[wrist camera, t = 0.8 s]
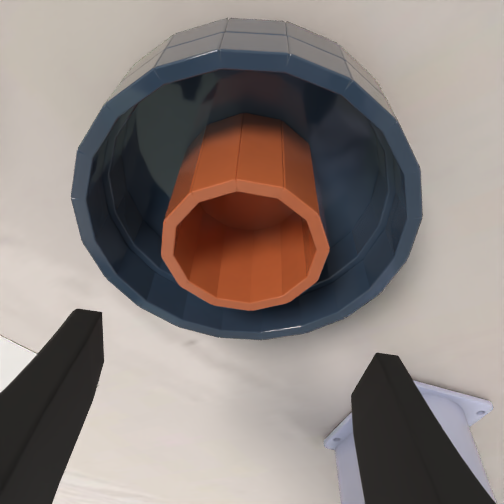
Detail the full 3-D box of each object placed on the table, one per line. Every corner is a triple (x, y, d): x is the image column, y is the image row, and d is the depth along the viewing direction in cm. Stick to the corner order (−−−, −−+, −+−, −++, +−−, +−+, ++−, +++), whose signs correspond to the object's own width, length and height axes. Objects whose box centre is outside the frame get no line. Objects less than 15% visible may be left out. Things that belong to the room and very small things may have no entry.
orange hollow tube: (297, 239, 21) (303, 319, 17) (178, 219, 21) (157, 297, 17) (332, 129, 18) (350, 199, 14) (190, 101, 17) (166, 166, 13)
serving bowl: (316, 301, 24) (323, 365, 21) (88, 234, 22) (57, 295, 19) (459, 91, 17) (503, 141, 14) (137, -47, 14) (100, -26, 11)
